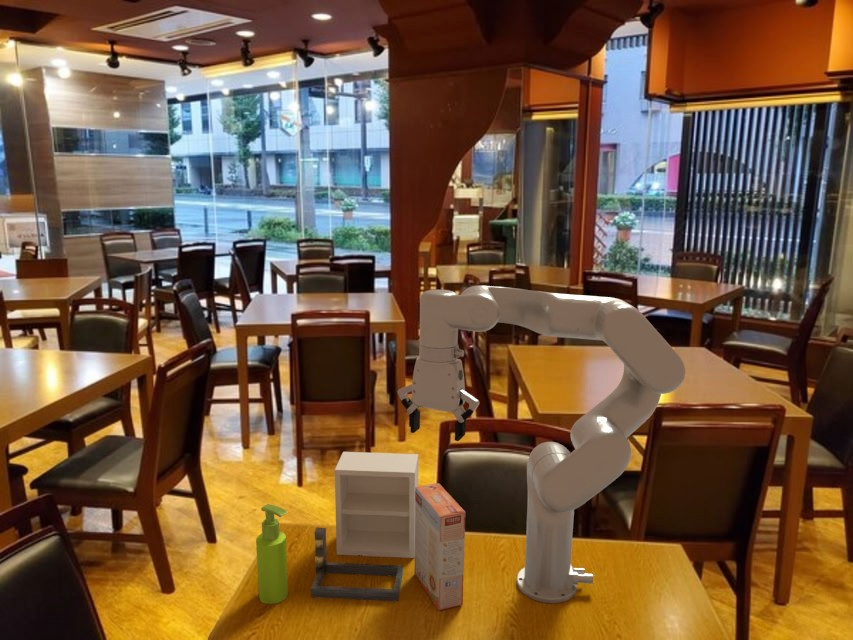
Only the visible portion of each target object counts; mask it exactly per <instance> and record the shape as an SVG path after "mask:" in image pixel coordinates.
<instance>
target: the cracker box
mask: <svg viewBox="0 0 853 640" xmlns="http://www.w3.org/2000/svg"><path fill="white" fill-rule="evenodd" d="M465 536H466V511H465V510H464V509H463V507H461V506H460V505H459V503H458V502H457V501H456V500H455V499H454V498H453V496H452V495H450V493H449V492H447V490H446V489H445V488H444V487H443V486H442V485H441V484H440V483H430V484H425V485H418V486H417V487H415V558H414V572H413V573H414V576H416V578H417V580H418V582H419V583H420V585H421V586H422V587H423V589H424V591H425V593H426V594H427V595H428V597H429V598H430V600H431V602H432V603H433V604H434V607H435V608H436V609H437V611H438V612H439V611H442V610H443V611H444V610H448V609H451V608H454V607H455V608H456V607H460V606H463V604H464V581H465V580H464V575H465V573H464V572H465V544H466V543H465V540H466V539H465V538H466V537H465Z"/></svg>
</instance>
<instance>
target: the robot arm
mask: <svg viewBox="0 0 853 640" xmlns="http://www.w3.org/2000/svg"><path fill="white" fill-rule="evenodd" d="M498 323H500V324H501V323H502V324H503V323H504V324H510V325H516V326H520V327H522V328H525V329H529V330H530V331H533V332H535V333H537V334H540V335H543V336H546V337H553V338H563V339H564V338H570V339H583V340H593V341H594V340H595V341H603V342H604V343H605V344H606V345H607V346H608V347H609V348H610V349H611V351H612V352H613V353H614V354H615V355H616V356H617V357H618V359H619V360H620V361H621V363H623V374H622V376H621V380H620V382H619V384H618V385H617V387H615V389H613V390H612V392H610V394H608V395H607V396H606V397H605V398H604V399H602V401H600V402H599V403H598V404H596V405H595V406H593V407H592V408H591V409H590V410H589V411H588V412H586V413H585V414H583V415H582V416H581V417H579V418H578V419H577V420H576V421H575V422H574V424H573V425H572V427H571V430H570V440H571V442H572V446H573V447H574V448H573V449H574V450H572V452H571V451H569V449H567V447H565V446H564V445H562V444H560V443H559V442H555V441H544V442H542V443H539V444H538V445H537V446H535V447H534V448H533V449H532V451H531V452H530V454H529V456H528V459H527V465H526V481H527V482H526V483H527V484H526V485H527V508H526V509H527V512H526V530H525V531H526V535H525V536H526V537H525V554H524V555H525V558H524V559H525V560H524V567H523V568H521V569H520V570H519V571H518V572H517V576H516V585H517V588H518V589H519V590H520V592H521V593H522V594H523V595H525V596H526V597H528V598H530V599H532V600H534V601H537V602H541V603H545V604H546V603H547V604H558V603H562V602H566V601H568V600H571V599H572V598H573V597H574V596H575V595H576V593H577V591H578V584H581V583H582V584H593V583H594V575H593V573H586V569H585V567H574V566H572V548H573V532H574V530H573V529H574V521H575V520H574V516H575V510H576V509H578V508H580V507H581V506H583V505H585V504H586V502H588V501H590V500H592V498H593V497H595V496H596V495H598V494H599V493H600V492H602V491H603V490H604V489H605V488H607V487H608V486H609V485H611V484H612V483H613V482H614V481H616V479H618V478H619V477H620V476H622V474H623V473H624V472H625V470H626V469H627V468H628V466H629V464H630V461H631V457H632V447H631V444H630V441H629V439H628V438H629V437H630V436H631V435H632V434H634V432H635V431H637V430H638V429H639V428H640V427H641V426H642V425H643V424H645V422H647V420H648V419H650V418H651V416H652V415H653V413H654V412H655V411H656V409H657V407H658V405H659V402H660V399H661V396H662V395H664V394H665V395H666V394H670V393H672V392H674V391H676V390H677V389H679V387H680V386H681V385H682V384H683V382H684V381H685V377H686V367H685V363H684V361H683V359H682V357H681V356H680V355H679V354H678V352H676V350H675V349H674V348H673V347H672V346H671V345H670V344H669V342H667V340H666V339H665V338H664V337H663V335H662V334H661V333H660V332H658V330H657V329H656V328H655V327H654V326H653V324H651V322H650V321H649V320H648V319H647V318H646V317H645V315H644V314H643V313H642V311H640V310H639V309H637V308H636V307H634V306H633V305H631V304H629V303H628V302H626V301H625V300H622V299H620V298H617V297H616V298H615V297H611V296H609V297H608V296H597V295H582V294H569V293H559V292H547V291H541V290H530V289H529V290H528V289H523V288H514V287H505V286H494V285H493V286H492V285H491V286H490V285H472V286H469V287H467V288H466V289H464V290H463V291H462V292H461V293H460V294H457V293H456V292H454V291H453V290H449V289H428V290H426V291H424V292H422V294H421V295H420V298H419V347H418V348H419V351H418V352H419V355H418V357H416V360H415V364H414V369H413V374H412V383H411V384H409V385H406V386H403V387H401V388H399V389H398V390H397V395H398V397H399V399H400V400H401V402H400V403H401V404H402V406H403V407H404V408H405V409H406V413H407V414H408V417H409V418H408V426H409V428H410V433H411V434H414V433H416V432H418V430H420V428H421V411H420V409H419V408H424V409H429V410H434V411H435V410H436V411H442V412H449V413H452V415H453V416H454V417H455V419H456V421H455V422H454V423H455V424H454V441H455V442H459V441H460V440H461V439H463V438H464V437H465V436H466V433H467V432H466V429H467V428H466V427H467V426H466V425H467V419H468V418H470V417H471V416H472V415H473V414H474V413H475V412H476V410H477V409H478V407H479V405H480V400H479V399H477V398H476V397H475V396H473V395H472V394H470V393H469V392H467V391H466V385H465V384H466V383H465V375H464V367H463V362H462V360H461V359H460V358H463V357H464V356H465V350H464V349H461V348H460V347H459V346H460V345H459V344H458V342H459V341H458V340H459V339H458V338H459V330H464V331H469V332H477V333H478V332H480V333H482V332H486V331H489V330H491V329H493V328H494V327H495V326H496V325H497V324H498ZM409 393H411V399H410V397H408V394H409ZM465 402H466V403H467V404H469V406H468V408H467V410H465V408H464V405H465Z"/></svg>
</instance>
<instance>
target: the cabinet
mask: <svg viewBox="0 0 853 640" xmlns="http://www.w3.org/2000/svg"><path fill="white" fill-rule="evenodd" d="M417 486H419V454H417V453H395V452H393V453H392V452H391V453H390V452H388V453H387V452H364V451H363V452H362V451H360V452H359V451H343V452H342V453H341V455H340V458H339V460H338V461H337V465H336V467H335V468H334V498H335V499H334V501H335V502H334V503H335V536H336V537H335V538H336V539H335V541H336V542H335V543H336V556H337V555H338V556H358V555H360V556H361V555H362V557H380V558H381V557H386V558H404V559H405V558H407V559H415V487H417Z"/></svg>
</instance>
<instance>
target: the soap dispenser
mask: <svg viewBox="0 0 853 640" xmlns="http://www.w3.org/2000/svg"><path fill="white" fill-rule="evenodd" d="M260 508H261V509H260V510H261V511H263V512H265V519H264V520H262V521H261V533H260V534H259V535H258V536H257V537H256V539H255V545H256V547H255V548H256V565H257V583H258V584H257V585H258V599H259V601H260V602H262V603H263V604H266V605H275V604H276V605H277V604H279V603H281V602H283V601H285V600H286V599H287V597H288V596H289V585H288V582H289V581H288V558H287V538H286V537H287V535H286V534H285V532H283V531H280V522H279V521H280V520H279V519H278V518H281V517H283V516H285V515H286V514H288V511H287V510H285V509H284V508H282V507H280V506H278V505H275V504H270V503H267V504H266V505H263V506H262V507H260ZM275 516H277V517H278V518H275Z"/></svg>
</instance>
